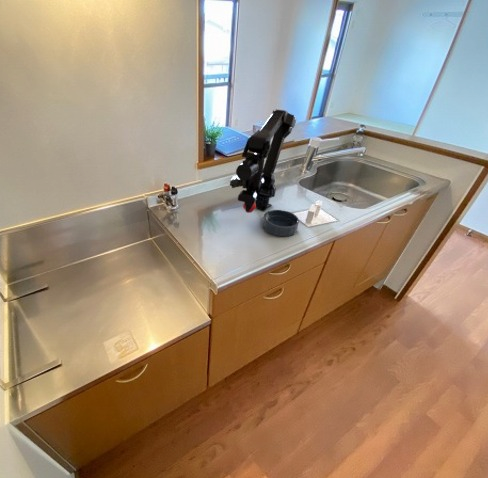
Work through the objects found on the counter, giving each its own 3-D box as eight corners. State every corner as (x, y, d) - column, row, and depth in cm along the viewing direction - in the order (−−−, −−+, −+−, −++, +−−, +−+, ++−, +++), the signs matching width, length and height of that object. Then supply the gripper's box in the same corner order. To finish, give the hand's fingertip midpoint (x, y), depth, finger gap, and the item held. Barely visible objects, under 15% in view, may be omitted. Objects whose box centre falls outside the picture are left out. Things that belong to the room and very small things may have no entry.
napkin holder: (308, 227, 109) (312, 214, 106) (291, 213, 118) (294, 201, 114) (337, 220, 113) (342, 208, 110) (318, 207, 122) (322, 196, 119)
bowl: (273, 215, 116) (275, 206, 114) (302, 227, 109) (305, 218, 106) (256, 227, 109) (257, 218, 106) (285, 241, 101) (288, 231, 99)
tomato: (247, 206, 113) (248, 195, 110) (257, 211, 110) (259, 199, 107) (239, 210, 110) (241, 199, 107) (250, 215, 107) (251, 203, 104)
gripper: (240, 159, 109) (236, 194, 119) (226, 176, 96) (222, 215, 105) (267, 164, 106) (261, 199, 115) (257, 182, 92) (251, 221, 101)
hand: (249, 208), depth 109 cm, fingers closed on tomato, 5 cm apart
